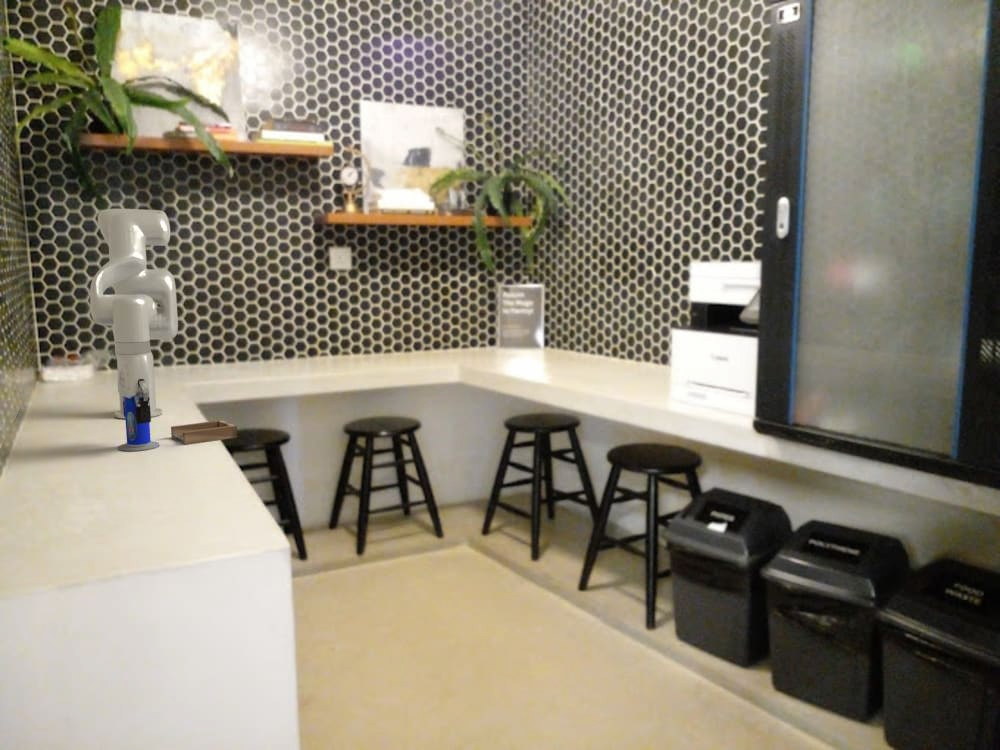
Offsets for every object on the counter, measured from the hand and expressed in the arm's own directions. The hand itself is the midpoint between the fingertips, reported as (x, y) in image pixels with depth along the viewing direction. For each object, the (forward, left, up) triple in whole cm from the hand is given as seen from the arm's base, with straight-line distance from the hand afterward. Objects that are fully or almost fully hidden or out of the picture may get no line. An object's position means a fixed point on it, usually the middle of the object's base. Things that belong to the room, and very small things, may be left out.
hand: (137, 419), depth 181 cm
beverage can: (0, 0, -7) cm, 7 cm away
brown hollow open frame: (0, +16, -7) cm, 17 cm away
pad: (0, 0, -7) cm, 7 cm away
